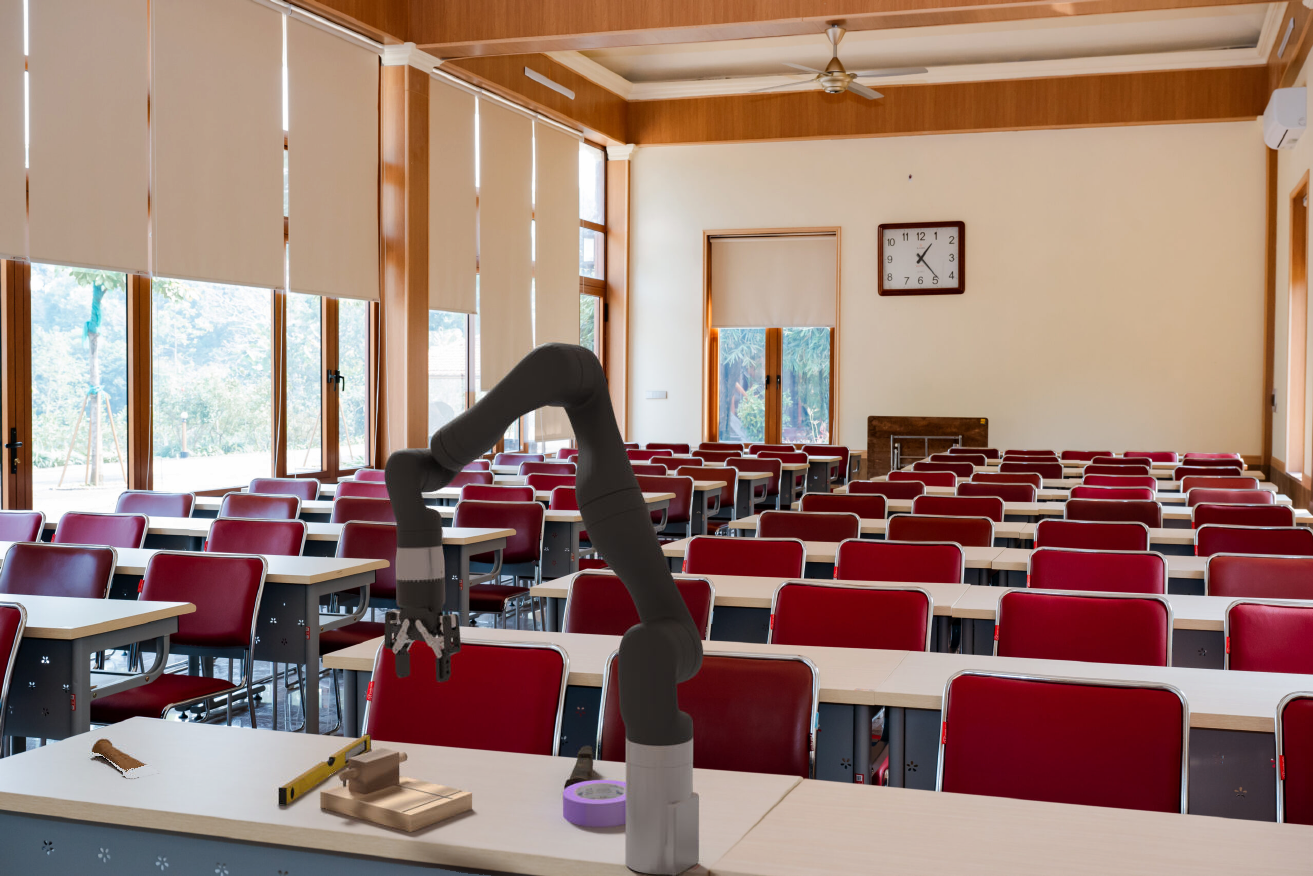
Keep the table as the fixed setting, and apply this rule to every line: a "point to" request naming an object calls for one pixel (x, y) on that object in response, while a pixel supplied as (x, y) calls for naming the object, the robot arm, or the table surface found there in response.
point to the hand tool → (582, 767)
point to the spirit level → (323, 770)
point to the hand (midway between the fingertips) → (422, 679)
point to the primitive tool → (115, 755)
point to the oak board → (399, 803)
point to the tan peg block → (373, 771)
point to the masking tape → (595, 803)
